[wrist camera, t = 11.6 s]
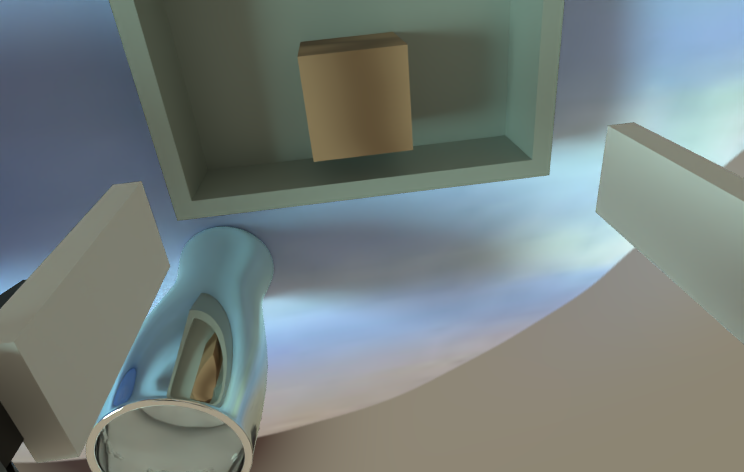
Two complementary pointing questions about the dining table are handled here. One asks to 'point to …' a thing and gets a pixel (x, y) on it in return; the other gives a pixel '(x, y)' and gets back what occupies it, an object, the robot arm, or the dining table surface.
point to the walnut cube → (356, 95)
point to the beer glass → (194, 367)
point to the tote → (287, 108)
